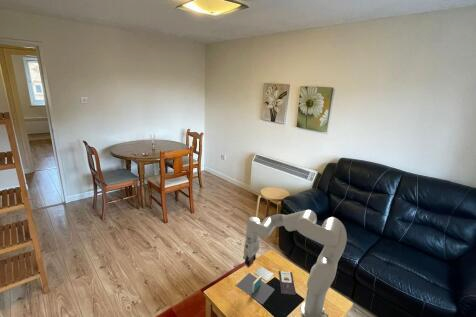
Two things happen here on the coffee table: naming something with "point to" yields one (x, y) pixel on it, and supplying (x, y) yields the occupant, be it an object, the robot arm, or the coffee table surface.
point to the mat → (260, 293)
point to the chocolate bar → (287, 283)
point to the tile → (256, 284)
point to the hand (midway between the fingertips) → (250, 261)
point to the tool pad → (264, 273)
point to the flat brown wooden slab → (251, 261)
